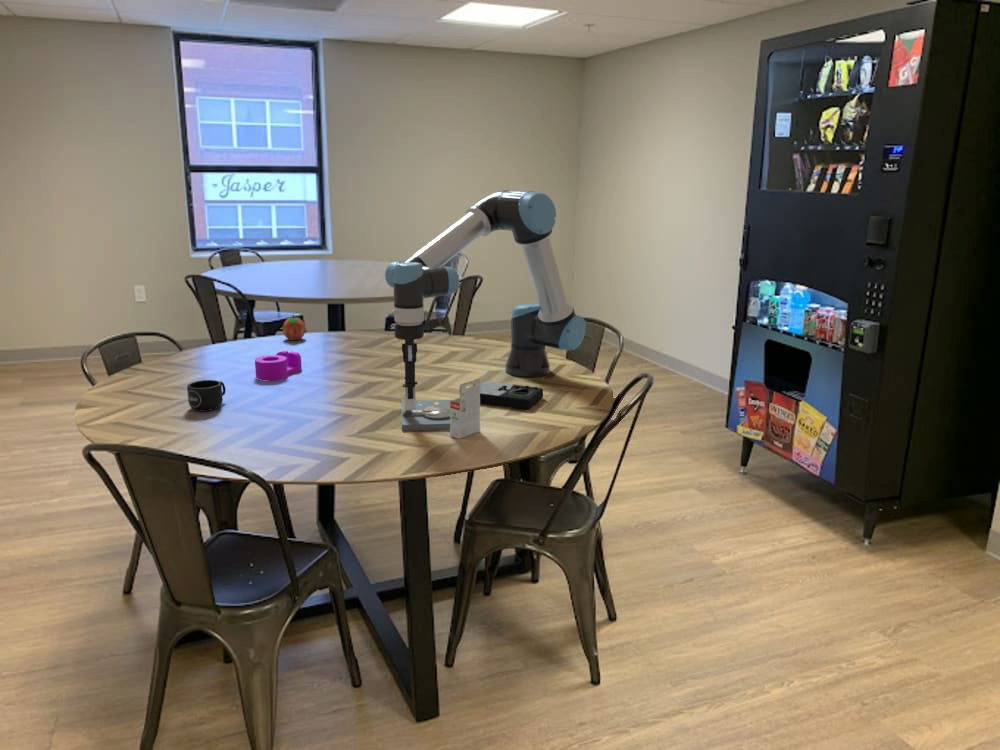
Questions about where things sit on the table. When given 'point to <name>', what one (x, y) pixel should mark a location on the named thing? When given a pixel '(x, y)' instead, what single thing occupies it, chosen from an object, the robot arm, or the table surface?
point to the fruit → (294, 328)
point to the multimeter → (509, 395)
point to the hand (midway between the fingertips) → (410, 409)
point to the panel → (423, 422)
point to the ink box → (465, 411)
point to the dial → (427, 411)
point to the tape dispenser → (277, 365)
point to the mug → (205, 394)
